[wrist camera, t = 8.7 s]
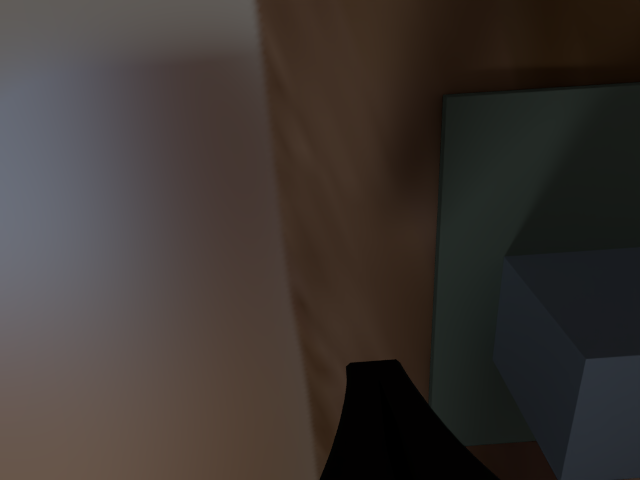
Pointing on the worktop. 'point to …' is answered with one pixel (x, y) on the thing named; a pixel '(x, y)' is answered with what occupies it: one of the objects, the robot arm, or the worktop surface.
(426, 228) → the worktop surface
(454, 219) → the pitch mat
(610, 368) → the block
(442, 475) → the robot arm
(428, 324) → the worktop surface
